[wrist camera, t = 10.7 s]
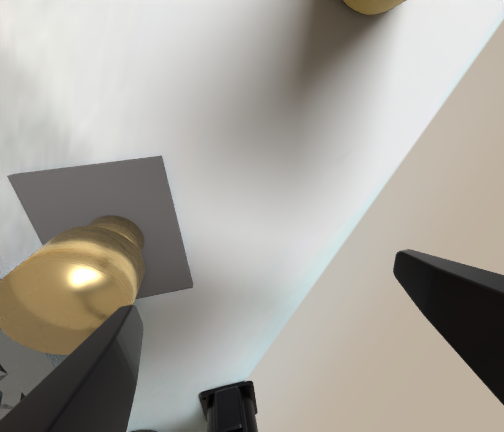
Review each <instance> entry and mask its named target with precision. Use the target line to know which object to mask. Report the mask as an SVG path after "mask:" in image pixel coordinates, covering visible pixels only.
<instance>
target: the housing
mask: <svg viewBox="0 0 504 432" xmlns="http://www.w3.org/2000/svg"><path fill="white" fill-rule="evenodd" d="M1 280H2V279H1ZM1 280H0V281H1ZM67 356H68V355H58V354H50V353H44V352H40V351H36V350H33V349H31V348H28V347H26V346H23V345H21V344H20V343H18V342H16V341H14V340H13V339H12V338H10V337H9V336H8V335H6V334H5V333H4V332H3V331H2V330H1V328H0V420H1V419H2V418H3V417H4V416H5V415H6V414H7V413H8V412H9V411H10V410H11V409H12V408H13V407H14V406H16V405H17V404H18V403H19V402H20V401H21V400H22V399H23V398H24V397H25V396H26V395H27V394H28V393H29V392H30V391H31V390H32V389H34V388H35V387H36V386H37V385H38V384H39V383H40V382H41V381H42V380H43V379H44V378H45V377H46V376H47V375H48V374H49V373H50V372H52V371H53V370H54V369H55V368H56V367H57V366H58V365H59V364H60V363H61V362H62V361H63V360H64V359H65V358H66V357H67Z"/></svg>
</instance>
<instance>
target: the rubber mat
mask: <svg viewBox="0 0 504 432" xmlns="http://www.w3.org/2000/svg"><path fill="white" fill-rule="evenodd" d="M7 177H8V179H9V181H10V182H11V184H12V186H13V188H14V190H15V192H16V194H17V196H18V198H19V200H20V202H21V204H22V206H23V208H24V210H25V211H26V213H27V215H28V217H29V219H30V221H31V223H32V225H33V227H34V229H35V231H36V233H37V235H38V237H39V239H40V241H41V242H42V244H43V246H44V245H45V244H46V243H47V242H48V241H50V240H51V239H52V238H53V237H55V236H56V235H58V234H59V233H61V232H63V231H65V230H68V229H71V228H74V227H80V226H87V225H88V224H90V223H91V222H92V221H93V220H95V219H96V218H99V217H102V216H107V215H115V216H121V217H124V218H127V219H129V220H130V221H132V222H133V223H135V224H136V225H137V226H138V227H139V228H140V230H141V231H142V233H143V236H144V241H145V243H144V249H143V251H142V253H141V255H142V258H143V261H144V266H145V272H144V277H143V280H142V282H141V285H140V288H139V290H138V293H137V296H136V298H135V299H138V298H143V297H148V296H153V295H158V294H163V293H168V292H173V291H178V290H183V289H188V288H193V282H192V278H191V274H190V270H189V266H188V262H187V258H186V254H185V249H184V245H183V241H182V237H181V233H180V229H179V225H178V221H177V217H176V212H175V208H174V204H173V200H172V196H171V192H170V188H169V184H168V180H167V176H166V171H165V167H164V163H163V159H162V156H156V157H148V158H140V159H132V160H124V161H116V162H108V163H100V164H92V165H84V166H75V167H67V168H59V169H51V170H43V171H35V172H27V173H19V174H13V175H9V176H7Z"/></svg>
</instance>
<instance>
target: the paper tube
mask: <svg viewBox="0 0 504 432" xmlns="http://www.w3.org/2000/svg"><path fill="white" fill-rule="evenodd" d="M343 1H344V2H345V3H346V4H347V5H348V6H349V7H350V8H352V9H353V10H355V11H357V12H359V13H362V14H368V15H374V14H379V13H383V12H386V11H388V10H390V9H392V8H394V7H395V6H397V5H399V4H401V3H402V2H404V1H406V0H343Z"/></svg>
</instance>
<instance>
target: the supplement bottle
mask: <svg viewBox="0 0 504 432" xmlns="http://www.w3.org/2000/svg"><path fill="white" fill-rule="evenodd" d="M134 432H157V431H153V430H139V431H134Z"/></svg>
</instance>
